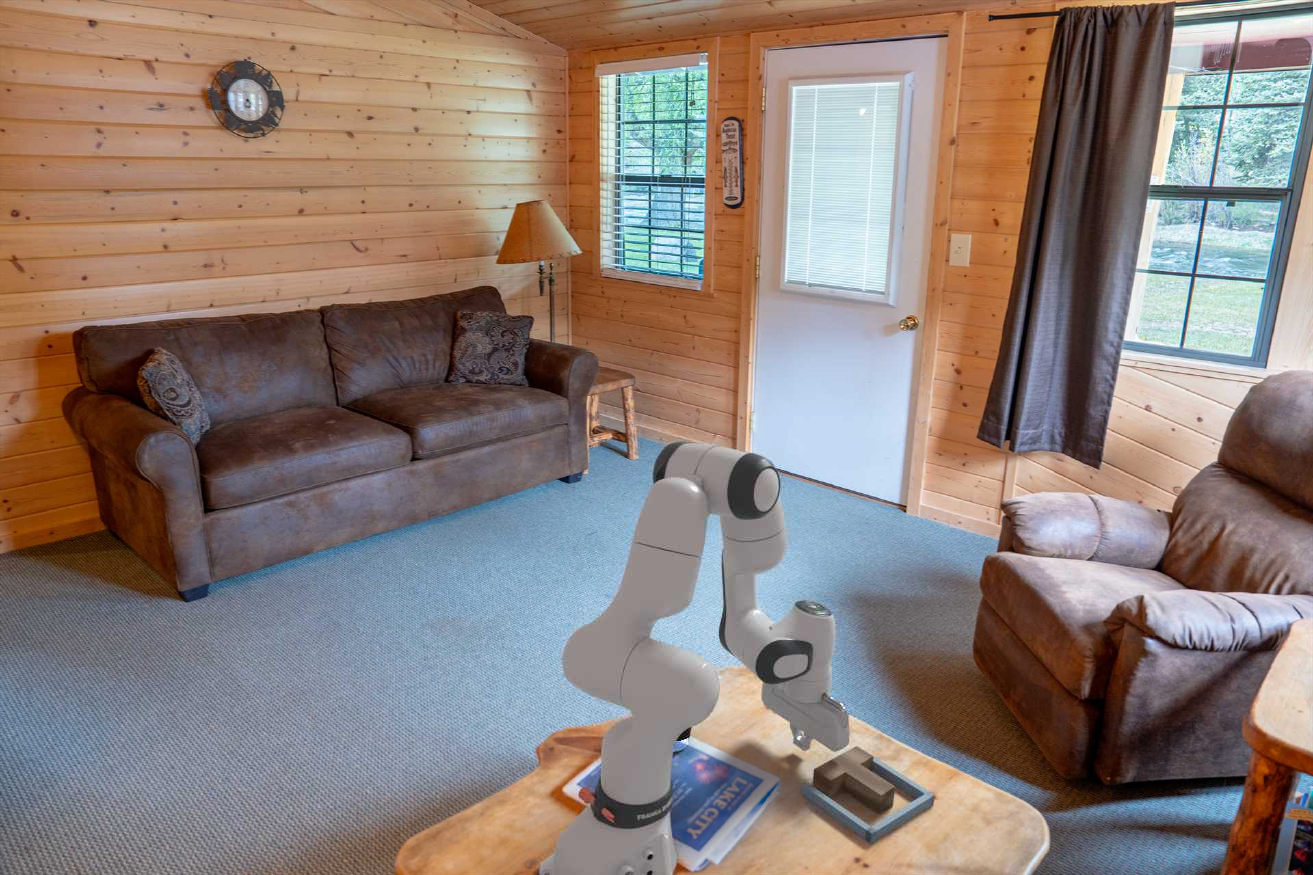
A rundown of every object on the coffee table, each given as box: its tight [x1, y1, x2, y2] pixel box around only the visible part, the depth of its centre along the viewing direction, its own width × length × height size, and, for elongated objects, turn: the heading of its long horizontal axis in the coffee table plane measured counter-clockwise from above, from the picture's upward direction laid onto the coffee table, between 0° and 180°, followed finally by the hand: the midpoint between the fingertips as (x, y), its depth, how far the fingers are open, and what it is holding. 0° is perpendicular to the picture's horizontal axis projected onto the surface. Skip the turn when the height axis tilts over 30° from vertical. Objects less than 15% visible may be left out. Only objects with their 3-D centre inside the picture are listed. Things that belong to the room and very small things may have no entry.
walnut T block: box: [812, 745, 896, 815], centre depth 167 cm, size 12×12×4 cm
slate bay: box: [801, 755, 936, 845], centre depth 166 cm, size 17×16×2 cm
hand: (801, 746), depth 178 cm, fingers closed
